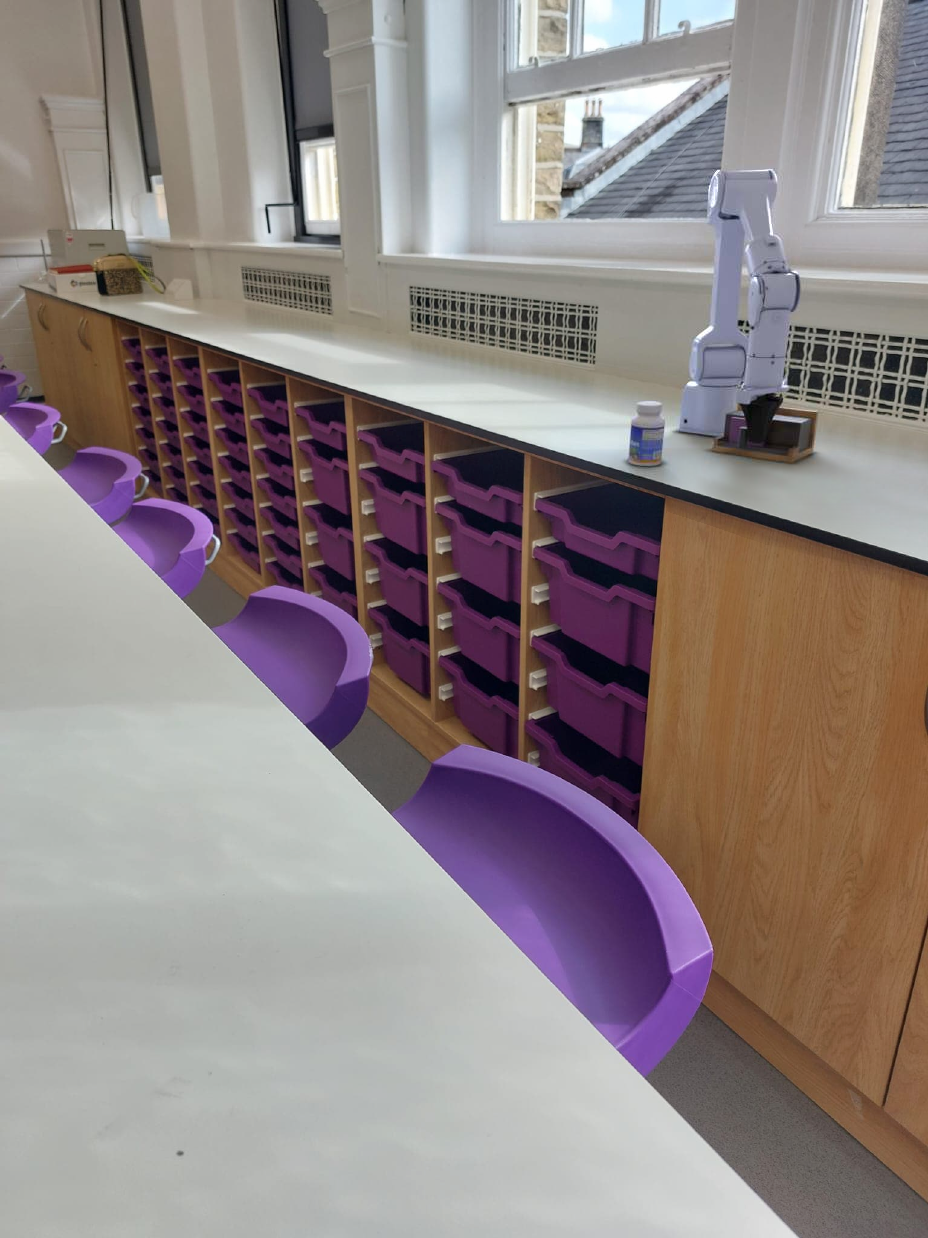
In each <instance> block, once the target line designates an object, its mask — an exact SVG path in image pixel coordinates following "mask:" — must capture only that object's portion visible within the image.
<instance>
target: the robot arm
mask: <svg viewBox="0 0 928 1238" xmlns="http://www.w3.org/2000/svg"><path fill="white" fill-rule="evenodd" d="M777 177H778V176H777V174H776V173H775V171H774V170H773V169H772V168H768V169H756V170H755V169H754V170H753V169H752V170H751V169H750V170H723V169H718V170H716V172H715V173H714V174H713V176H712V178H711V180H710V184H709V188H708V195H707V197H708V198H707V212H706V213H707V214H706V216H707V224H708V225H709V226H711V227H713V228H715V250H714V262H713V265H714V266H713V275H712V276H713V277H712V291H711V305H710V318H709V327H707V328H706V329H705V330H704V331H702V332H701V333H700V334H698V335H697V336H696V337H695V338H694V339H693V342H692V346H691V352H690V356H689V364H688V365H689V366H688V368H689V371H688V372H689V376H690V378H691V380H692V381H689V382H688V383H687V384H686V385H685V387H684V388H683V392H682V395H681V402H680V415H679V427H678V428H677V429H676V431H677V432H681V433H690V434H697V435H704V436H710V437H711V436H712V437H719V436H724V428H725V418H726V414H727V413H730V412H733V411H735V410H736V404H738V403H739V404H740V406H741V408H742V410H743V413H744V416H745V420H746V426H747V434H748V441H749V442H751V443H758V444H761V443H763V442H764V441H765V438H766V436H767V433H768V430H769V427H770V424H771V422H772V419H773V417H774V415H775V413H776V412H777V410H778V408H779V407H781V406H782V404H783V402H784V397H783V396H777V395H775V394H776V393H785V392H789V391H790V386H789V385H788V378H784V372H785V366H786V359H787V351H788V344H789V343H788V342H789V334H790V326H791V319H792V313H794V312H795V311H796V310H797V309H798V306H799V303H800V301H801V300H800V299H801V293H802V281H801V275H800V273H798V272H797V271H795V269H794V268H793V267H791V268H790V266H789V264H788V260H787V256H786V251H785V248H784V244H783V241H782V239H781V238H780V237H779V236H778V235H775V234H774V233H773V226H772V219H771V210H772V207H773V205H774V203H775V200H776V197H777V192H778V178H777ZM745 236H746V237H745ZM745 238H746V240H747V242H748V244H747V246H746V247H745ZM744 248H745V250H744ZM744 259H745V264H746V268H747V272H748V273H747V274H748V277H749V281H750V282H749V283H750V284H749V287H748V288H749V289H748V291H747V292H748V294H747V307H748V319H747V321H748V325H750V328H749V337H748V336H747V335H746V334H745V333H744V332H742V331H741V330H740V329H739V328H738V321H739V311H740V310H739V309H740V308H739V307H740V295H741V287H742V286H741V285H742V272H743V260H744ZM711 345H719V346H711ZM721 345H723V346H721ZM724 345H725V346H724ZM743 381H744V382H743ZM742 382H743V383H742ZM740 385H741V386H740ZM739 386H740V389H738V387H739Z"/></svg>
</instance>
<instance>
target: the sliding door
mask: <svg viewBox="0 0 928 1238" xmlns="http://www.w3.org/2000/svg"><path fill="white" fill-rule="evenodd" d="M729 442H731V443H738V447H739V448H746V447H747V445H752V446H759V447H764V442H763V443H761V444H758V443H751V442H749V441H748V434H747V426H746V420H745V418H739V417H732V418H731V425H730V434H729Z"/></svg>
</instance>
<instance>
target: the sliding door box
mask: <svg viewBox="0 0 928 1238" xmlns="http://www.w3.org/2000/svg"><path fill="white" fill-rule="evenodd" d="M819 413H820V412H819V411H818V410H813V409H802V408H793V407H784V406H780V407H779V408H778V410H777V412H776V413H775V415H774V417H773V419H772V422H771V424H770V427H769V430H768V433H767V436H766V438H765V441H764V447H759V446H752V445H747V447H746V448H739V447H738V443H731V442H729V434H730V425H731V418H732V417H739V418H745V416H744V413H743V410H742V408H741V406H740V404H739V403H737V408H736V409H735V411H733V412H730V413H727V414H726V418H725V428H724V436H719V437H717V436H715V437H714V438H713V443H712V444H713V445H712V452H715V453H716V452H717V453H723V454H730V455H736V456H743V457H751V458H757V459H762V460H770V461H776V462H783V463H789V464H792V463H795V462H796V461H799V460H801V459H803V458H805V457H807V456H809V455H811V454H813V453H814V446H815V441H816V434H817V427H818V420H819Z"/></svg>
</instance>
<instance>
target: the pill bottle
mask: <svg viewBox="0 0 928 1238" xmlns="http://www.w3.org/2000/svg"><path fill="white" fill-rule="evenodd" d="M662 411H663V403H662V402H659V401H652V400H651V401H650V400H645V401H644V400H643V401H639V402H637V403H636V413H637V414H635V415H634V416H633V417H632V418H631V419H630V420H631V421H630V433H629V434H630V435H629V448H628V449H629V450H628V462H629V463H630V464H631V465H634V466H638V467H655V466H658V465H660V464H661V463H662V460H663V459H662V458H663V447H664V436H665V426H666V420H665V418H664V417H663V416H662V415H661V413H662Z"/></svg>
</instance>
